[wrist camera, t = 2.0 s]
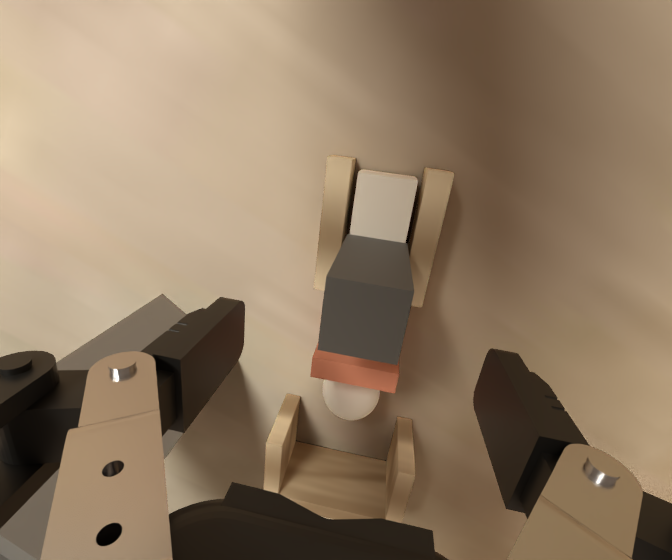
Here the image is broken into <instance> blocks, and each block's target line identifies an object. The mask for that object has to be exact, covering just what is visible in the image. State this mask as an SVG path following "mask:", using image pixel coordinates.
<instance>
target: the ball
mask: <svg viewBox="0 0 672 560" xmlns="http://www.w3.org/2000/svg"><path fill="white" fill-rule="evenodd" d="M379 396H380V390H375V389H370V388H365V387H360V386H355V385H350V384H345V383H340V382H335V381H330V380H325V379H324V382H323V398H324V401H325V403H326V405H327V407H328V408H329V410H330V411H331V412H332V413H333V414H335V415H336V416H338V417H339V418H342V419H345V420H359V419H362V418H364V417H366V416H367V415H369V414H370V413H371V412H372V411H373V410H374V408H375V407H376V405H377V403H378V400H379Z"/></svg>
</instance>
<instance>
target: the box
mask: <svg viewBox="0 0 672 560" xmlns="http://www.w3.org/2000/svg"><path fill="white" fill-rule="evenodd" d="M299 404H300V396H296V395H291V394H286V397H285V399H284V401H283V404H282V406H281V409H280V411H279V413H278V416H277V418H276V420H275V423H274V425H273V427H272V430H271V432H270V434H269V437H268V439H267V442H266V453H265V471H264V489H263V490H266V491H271V492H275V493H279V494H281V495H283V496H285V497H286V498H288V499H290V500H292V501H294V502H296V503H297V504H299V505H301V506H303V507H305V508H307V509H308V510H310V511H312V512H314V513H316V514H318V515H319V516H323V517H327V518H331V519H373V518H382V519H386V520H390V521H394V522H398V523H402V519H403V516H404V513H405V510H406V506H407V503H408V500H409V496H410V493H411V490H412V486H413V483H414V480H415V476H416V473H415V459H414V445H413V430H412V419H407V418H402V417H398V416H397V420H396V424H395V428H394V432H393V436H392V440H391V444H390V449H389V453H388V457H387V461H383V460H379V459H374V458H370V457H365V456H360V455H356V454H351V453H347V452H342V451H338V450H333V449H329V448H324V447H320V446H315V445H311V444H306V443H302V442H297V441H296V434H297V424H298V414H299Z"/></svg>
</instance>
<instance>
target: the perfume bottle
mask: <svg viewBox="0 0 672 560" xmlns="http://www.w3.org/2000/svg"><path fill="white" fill-rule="evenodd" d="M185 316H186V314H185V313H184V312H183V311H182V310H180V309H179V308H178V307H177V306H176V305H175V304H173V303H172V302H171V301H170V300H169V299H168V298H166V297H165V296H164V295H163V294H161V295H160V296H158V297H157V298H155V299H154V300H152V301H151V302H149V303H148V304H146V305H145V306H143V307H141V308H140V309H138V310H137V311H135V312H134V313H132V314H131V315H129V316H128V317H126V318H124V319H123V320H121V321H120V322H118V323H117V324H115V325H114V326H112V327H111V328H109V329H108V330H106V331H104V332H103V333H101V334H100V335H98V336H97V337H95V338H94V339H92V340H91V341H89V342H88V343H86V344H84V345H83V346H81V347H80V348H78V349H77V350H75V351H74V352H72V353H71V354H69V355H67V356H66V357H64V358H63V359H61V360H60V361H58V362H57V363H56V365H57V370H89V369H90V368H91V367H92V366H93V365H94V364H95V363H96V362H98V361H99V360H101V359H103V358H105V357H107V356H110V355H113V354H117V353H121V352H129V351H137V352H140V351H142V350H143V349H144V348H145V347H147V346H148V345H149V344H150V343H152V342H153V341H154V340H155V339H157V338H158V337H159V336H160V335H162V334H163V333H164V332H166V331H169V328H171V327H172V326H173V325H174V324H177V322H178V321H179V320H181V319H182V318H183V317H185ZM182 434H183V433H182V432H178V431H173V430H169V429H168V430H167V432H166V433H165V434H164V435H163V437H162V444H163V455H164V459H165V458H166V456H167V455H168V454H169V452H170V451H171V450H172V448H173V447H174V445H175V444H176V443H177V441H178V440H179V439H180V437H181V436H182ZM59 469H60V468H59ZM59 469H58V470H57V471H56V472H55V473H54V474H53V475H52V476H51V477H50V478H49V479H48V480H47V481H46V482H45V483H44V484H43V486H42V487H41V488H40V489H39V490H38V491H37V492H36V493H35V494H34V495H33V496H32V497H31V498H30V499H29V500H28V501H27V502H26V503H25V504H24V505H23V506H22V507H21V508H20V509H19V510H18V511H17V512H16V513H15V514H14V515H13V516H12V517H11V518H10V519H9V520H8V521H7V522H6V524H5V525H4V526H3V527H2V528H1V529H0V560H40V559H41V554H42V549H43V544H44V540H45V535H46V530H47V525H48V521H49V516H50V511H51V507H52V502H53V497H54V492H55V488H56V483H57V478H58V473H59Z"/></svg>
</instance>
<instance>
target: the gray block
mask: <svg viewBox="0 0 672 560" xmlns="http://www.w3.org/2000/svg"><path fill="white" fill-rule="evenodd" d="M417 184H418V180H417V178H416V177H415V176H407V175H400V174H393V173H386V172H379V171H371V170H364V169H362V170H360V171H359V172H358V177H357V184H356V192H355V199H354V206H353V213H352V220H351V227H350V234H347V236H346V238H345V240H344V242H343V244H342V246H341V248H340V250H339V252H338V254H337V256H336V258H335V260H334V262H333V264H332V266H331V268H330V270H329V272H328V274H327V276H326V282H325V291H324V299H323V308H322V316H321V325H320V333H319V342H318V344H317V347H316V350H315V352H314V355H313V358H312V367H311V376H310V377H315V378H320V379H325V380H330V381H335V382H340V383H345V384H350V385H355V386H360V387H365V388H370V389H375V390H380V391H385V392H390V393H395V390H396V386H397V381H398V377H399V356H400V352H401V347H402V343H403V339H404V334H405V330H406V326H407V321H408V317H409V313H410V308H411V304H412V300H413V295H414V285H413V279H412V272H411V265H410V258H409V251H408V245H407V243H405V242H406V237H407V232H408V228H409V223H410V218H411V213H412V208H413V203H414V198H415V194H416V189H417Z"/></svg>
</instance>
